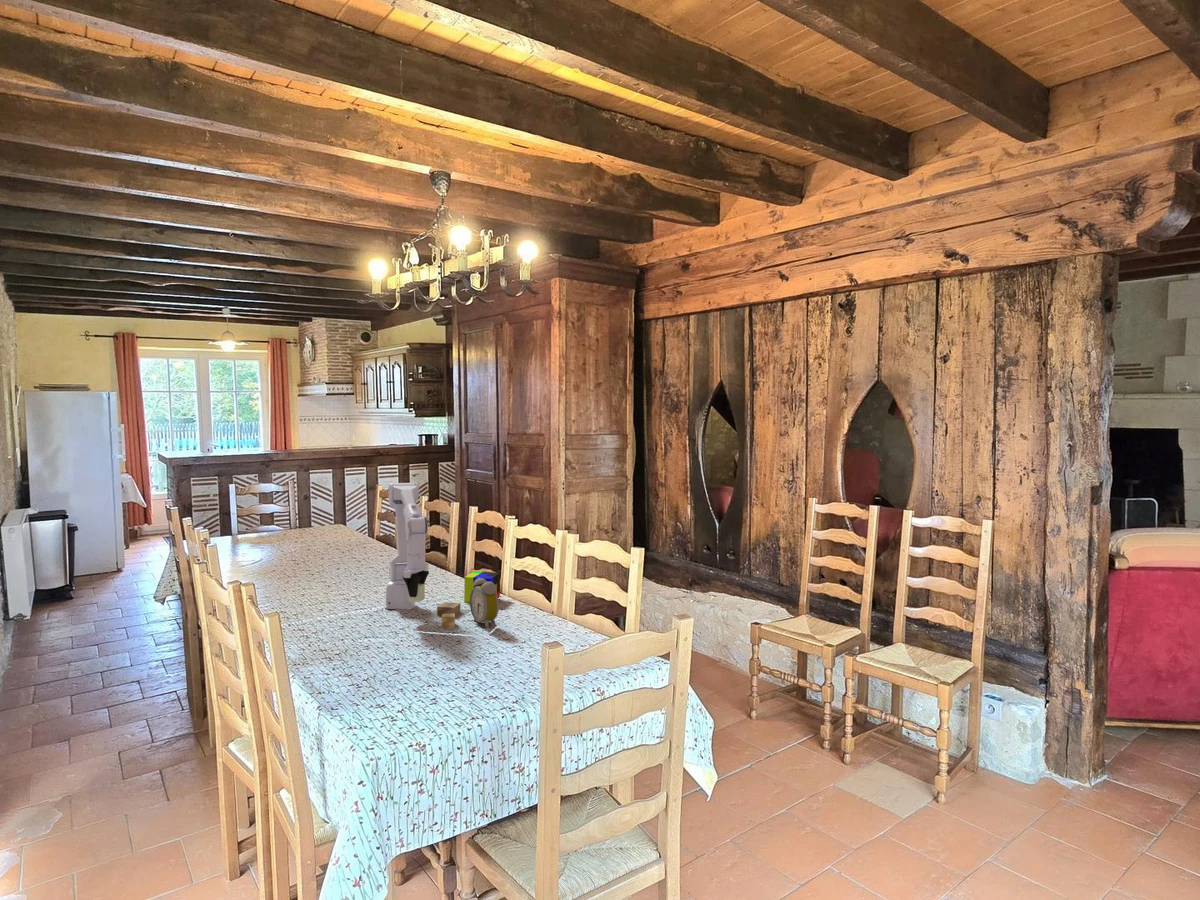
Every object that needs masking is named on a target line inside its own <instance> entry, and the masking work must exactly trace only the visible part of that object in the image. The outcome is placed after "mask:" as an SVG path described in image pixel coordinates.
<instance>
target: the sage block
mask: <svg viewBox="0 0 1200 900" xmlns="http://www.w3.org/2000/svg"><path fill="white" fill-rule="evenodd" d="M425 584H426V583H425ZM425 584H418V591H417V596H416V597H410V596H409V592H408V601H410V602H415V603H420V602H423V601H424V600H425V599H426V598H425V595H426V594H425V593H426V591H425V589H426V588H425V587H426V585H425Z"/></svg>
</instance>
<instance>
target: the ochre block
mask: <svg viewBox="0 0 1200 900" xmlns="http://www.w3.org/2000/svg"><path fill="white" fill-rule="evenodd" d="M455 624H456V620H455V614H442V619H441V628H442V629H443V628H455Z"/></svg>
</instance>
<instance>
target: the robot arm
mask: <svg viewBox="0 0 1200 900" xmlns="http://www.w3.org/2000/svg"><path fill="white" fill-rule="evenodd" d="M419 495H420V487H419V484H418V482H416V481H415V482H391V483H389V485H388V504H389V507H390V508H393V509H394V513H395V525H396V526H395V530H396V551H397V552H396V553H397V554H396V555H395V556H394V557H393V558H392V559H390V561H389V569H388V571H389V572H388V573H389V576H388V577H389V580H390V581H389V582H388V583H387V585H386V589H385V591H386V592H385V606H384V609H387V610H388V609H390V610H396V609H399V610H400V609H401V610H402V609H403V610H411V609H413V608H414V607H416V606H418V605H420V602H410V601H408V592H409V596H410V597H416V596H417V591H418V584H426V580H427V578H428V576H429V574H430V571H429V563H428V562H426V535H427V533H428V527H429V524H428V523H429V522H428V517H427V516H425V515H423V513H422V510H421V506H420V505H418V503H417V502H418V499H419Z"/></svg>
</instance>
